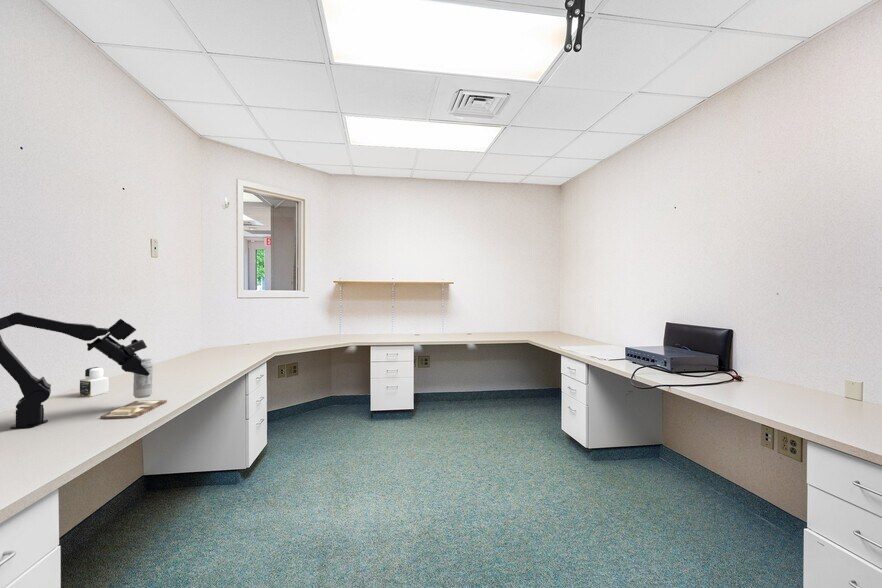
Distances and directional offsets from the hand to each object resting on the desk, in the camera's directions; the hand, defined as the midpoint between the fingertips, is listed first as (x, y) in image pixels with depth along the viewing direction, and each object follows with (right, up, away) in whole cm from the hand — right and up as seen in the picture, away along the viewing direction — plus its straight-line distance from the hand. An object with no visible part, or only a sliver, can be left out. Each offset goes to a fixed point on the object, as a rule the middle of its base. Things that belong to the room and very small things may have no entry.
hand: (147, 373), depth 149 cm
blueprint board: (0, -13, -5) cm, 14 cm away
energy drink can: (-1, -9, -1) cm, 10 cm away
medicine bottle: (-37, -13, +16) cm, 42 cm away
